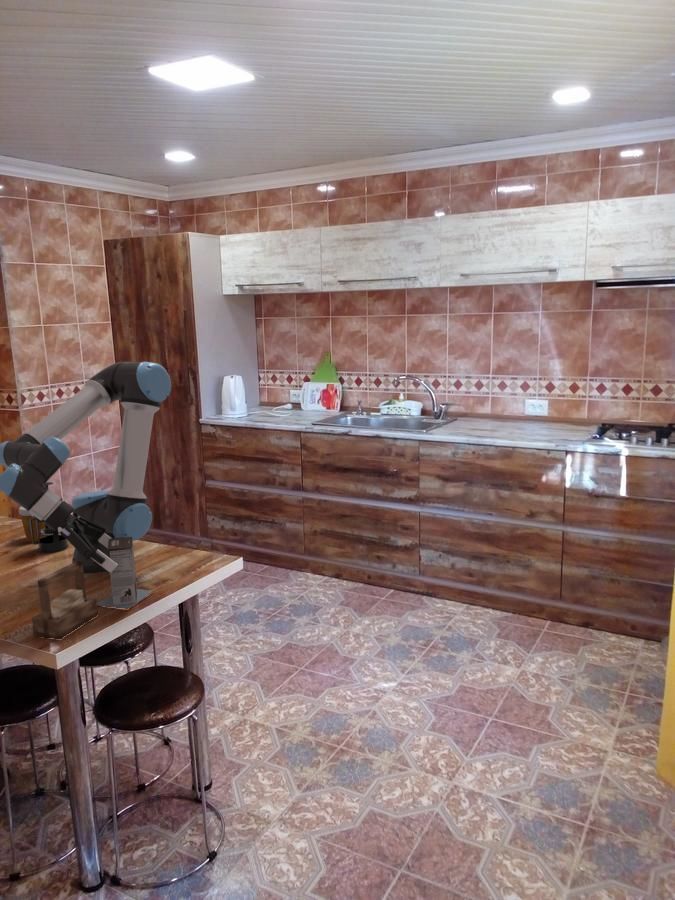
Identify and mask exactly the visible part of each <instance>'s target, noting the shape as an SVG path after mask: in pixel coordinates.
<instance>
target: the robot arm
mask: <svg viewBox="0 0 675 900" xmlns="http://www.w3.org/2000/svg"><path fill="white" fill-rule="evenodd" d="M171 382H172V381H171V377H170V374H169V373H168V372H167V369H165V367H164V366H163V365H161V364H159V363H157V362H150V361H118V362H115V363H113V364H111V365H109V366H107V367H105V368H104V369H101V370H100V371H99V372H97V373H95V375H93V376H92V377H91V378H89V379H88V380H86V381H85V383H84V387H83V388H82V389H80V390H79V391H77V393H75V394H74V395H73V396H71V397H70V398H68V399H67V400H66V401H64V402H63V403H62V404H61V405H60V406H58V407H57V408H56V409H54V410H53V411H52V412H50V414H48V415H46V416H45V417H44V418H42V419H41V420H40V421H39V422H37V423H36V424H35V425H34V426H32V427H31V428H30V429H28V430H27V431H26V432H24V433H23V434H22V435H20V436H19V437H18V438H16V439H15V440H14V439H13V440H6V441H4V442H2V443H0V465H2V466H3V467H6V468H5V469H4V471H3V472H2V473H1V474H0V492H2V493H3V494H4V495H5V496H6V497H7V498H9V499H11V500H12V501H13V502H14V503H16V504H18V505H19V506H20V507H21V506H22V507H23V508H25V509H26V510H27V511H29V510H30V511H29V512H30V513H31V516H32V517H34V516H35V517H37V518H38V519H39V520H45V521H44V524H46V525H47V526H48V527H50V528H51V529H52V530H56V529H58V527H61V528H62V529H63V530H62V531H61V532H60V534H59V535H62V536H64V537H65V538H66V539H67V542H69V543H70V545H72V546H73V547H74V551H73V556H72V560H71V563H73V562H75V561H77V560H80V561H82V563H83V572H84V573H97V572H98V573H99V572H104V571H107V572H109V574H110V573H111V572H112V571H113V570H114V569H115V568H116V567H117V565H118V564H117V563H116V562H114V561H113V560H112V559H110V558H109V556H108V540H109V539H111V538H119V537H132V541H133V542H135V541H138V540H140V539H142V538H143V536H144V535H146V534H147V533H148V532H149V529H150V528H151V524H152V521H153V514H152V511H151V508H150V507H149V506H148V505H147V499H148V497H147V496H146V494H145V493H144V484H145V477H146V470H147V463H148V456H149V449H150V442H151V436H152V430H153V422H154V416H155V413H156V412H158V411H159V410H160V408H161V403H162V402H163V401H165V400H166V399H167V397H169V396H170V394H171V391H172V383H171ZM119 400H120V405H121V406H122V407H123V409H124V410H123V411H124V412H123V419H122V426H121V433H120V438H119V439H120V440H119V447H118V452H117V453H118V454H117V459H116V467H115V473H114V480H113V487H112V489H109V490H96V491H92V492H91V491H90V492H85V493H83V494H79V495H76V496H75V497H74V498H73V499H72V501H71V504H69V503H68V502H66V501H65V500H62V501H60V500H61V498H62V497H60V496H59V495H58V494H56V493H55V492H54V491H53V490H51V489H49V487H48V488H47V487H45V486H44V484H45V483H46V482H49V481H48V480H51V478H52V477H53V475H55V474H56V472H57V471H58V470H60V468H61V467H62V466H63V465H65V462H67V460H68V458H69V457H70V456H71V450H70V448H69V446H68V445H67V444H66V443H65V442H63V441H62V439H63V438H65V436H67V435H68V434H70V432H72V431H73V430H75V429H76V428H77V427H78V426H79V425H80V424H81V423H83V422H85V420H87V419H88V418H89V417H90V416H92V415H93V414H94V413H95V412H97V411H98V410H99V409H100V408H102V407H108V406H109V405H111V404H112V403H114V402H116V401H119ZM47 490H48V491H47Z"/></svg>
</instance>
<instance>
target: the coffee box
mask: <svg viewBox="0 0 675 900" xmlns="http://www.w3.org/2000/svg"><path fill="white" fill-rule="evenodd" d="M133 542H134V541H132V537H119V538H111V539H109V540H108V556H109V558H110V559H112V560H113V561H114V562H116V563H117V564H118V565H117V567H116V568H115V569H114V570H113V571H112V572H111V573H110V572H109V575H110V577H109V578H110V584H111V585H110V586H111V595H112V599H113V605H122V604H130V603H136V602H137V589H138V587H137V586H138V585H137V578H136V577H137V576H136V564H135V553H134V543H133Z"/></svg>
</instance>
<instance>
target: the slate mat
mask: <svg viewBox="0 0 675 900" xmlns="http://www.w3.org/2000/svg"><path fill="white" fill-rule="evenodd" d="M152 591H153V590H149V589H147V590H146V589H142V588H141V589H140V588H137V602H139V601H140V600H142V599H143V598H145V597H146V596H147V595H149V594H150V593H152ZM149 592H150V593H149ZM148 593H149V594H148ZM137 602H136V603H137ZM136 603H130V604H122V605H113V599H112V594H110V595H109V596H108V597H106V598H104V599H103V600H101V601H100V602H97V606H105V607H116V608H125V609H128V608H130V607H131V606H133V605H134V604H136Z"/></svg>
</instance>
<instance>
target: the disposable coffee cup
mask: <svg viewBox="0 0 675 900" xmlns="http://www.w3.org/2000/svg"><path fill="white" fill-rule="evenodd" d="M29 511H30V510H29ZM29 511H27V510H26V509H25V508H23V507H22V506H20V507H19V509H18V514H19V517H20V519H21V523H22V526H23V530H24V534H25V538H26V541H27V542H30V543H32V536H31V528H30V518H35V516H34V517H32V516H31V513H30V512H29ZM38 526H39V531H40V530H42V529H44V528H45V524H44V522H38ZM32 527H33V535H34V542H38V534H37V525H36V520H32ZM43 537H46V536H42V535H40V539H41V538H43Z"/></svg>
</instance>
